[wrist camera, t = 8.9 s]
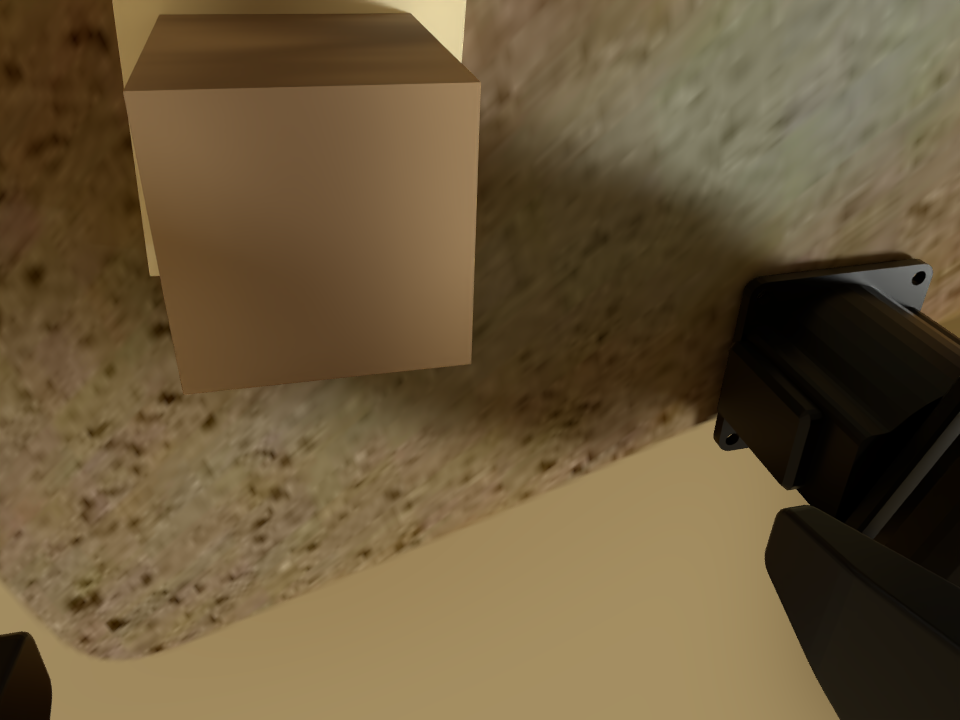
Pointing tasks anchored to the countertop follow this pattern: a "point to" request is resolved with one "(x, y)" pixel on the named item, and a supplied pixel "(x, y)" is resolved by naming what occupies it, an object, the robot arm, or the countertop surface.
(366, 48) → the walnut cube
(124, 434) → the countertop surface
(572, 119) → the countertop surface
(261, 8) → the birch block
